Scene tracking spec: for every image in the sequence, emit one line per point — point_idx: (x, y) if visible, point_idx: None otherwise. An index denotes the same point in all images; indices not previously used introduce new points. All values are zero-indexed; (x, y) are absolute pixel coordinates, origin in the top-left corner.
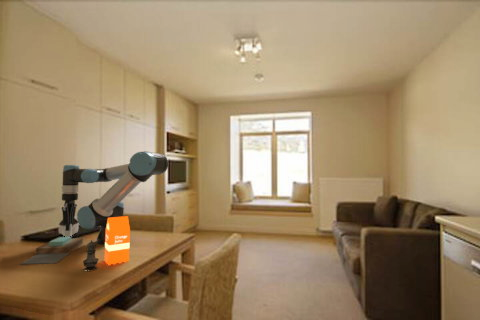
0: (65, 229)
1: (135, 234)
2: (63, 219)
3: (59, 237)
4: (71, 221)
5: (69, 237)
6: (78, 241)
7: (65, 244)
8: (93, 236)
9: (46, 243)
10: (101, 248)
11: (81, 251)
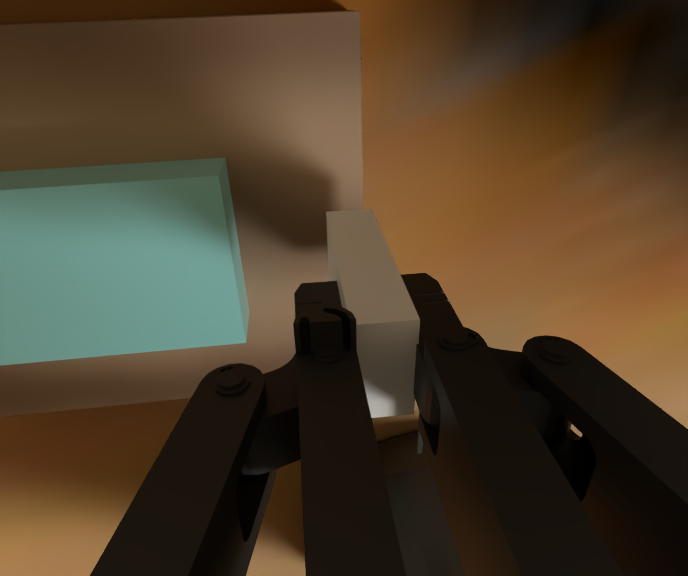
0: (337, 270)
1: None
2: (148, 491)
3: (185, 200)
4: (425, 450)
5: (196, 341)
6: None
7: None
8: (675, 313)
9: (28, 39)
10: None
11: (71, 444)
